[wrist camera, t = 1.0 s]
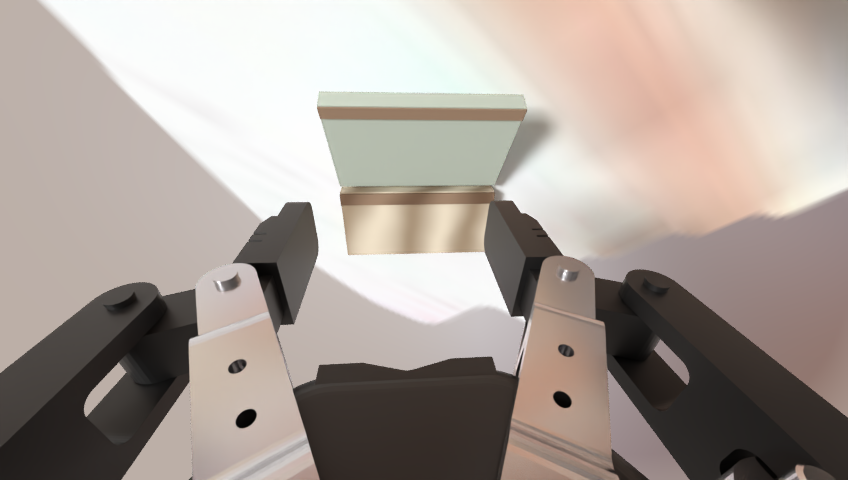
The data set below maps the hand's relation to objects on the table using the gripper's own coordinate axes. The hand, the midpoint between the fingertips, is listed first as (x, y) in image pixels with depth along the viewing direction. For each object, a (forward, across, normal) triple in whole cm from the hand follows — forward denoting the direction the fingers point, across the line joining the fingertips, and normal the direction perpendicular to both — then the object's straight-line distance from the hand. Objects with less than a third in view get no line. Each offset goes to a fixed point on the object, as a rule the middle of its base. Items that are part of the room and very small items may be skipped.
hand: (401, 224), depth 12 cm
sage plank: (+19, -2, +2) cm, 19 cm away
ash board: (+22, -2, +12) cm, 25 cm away
